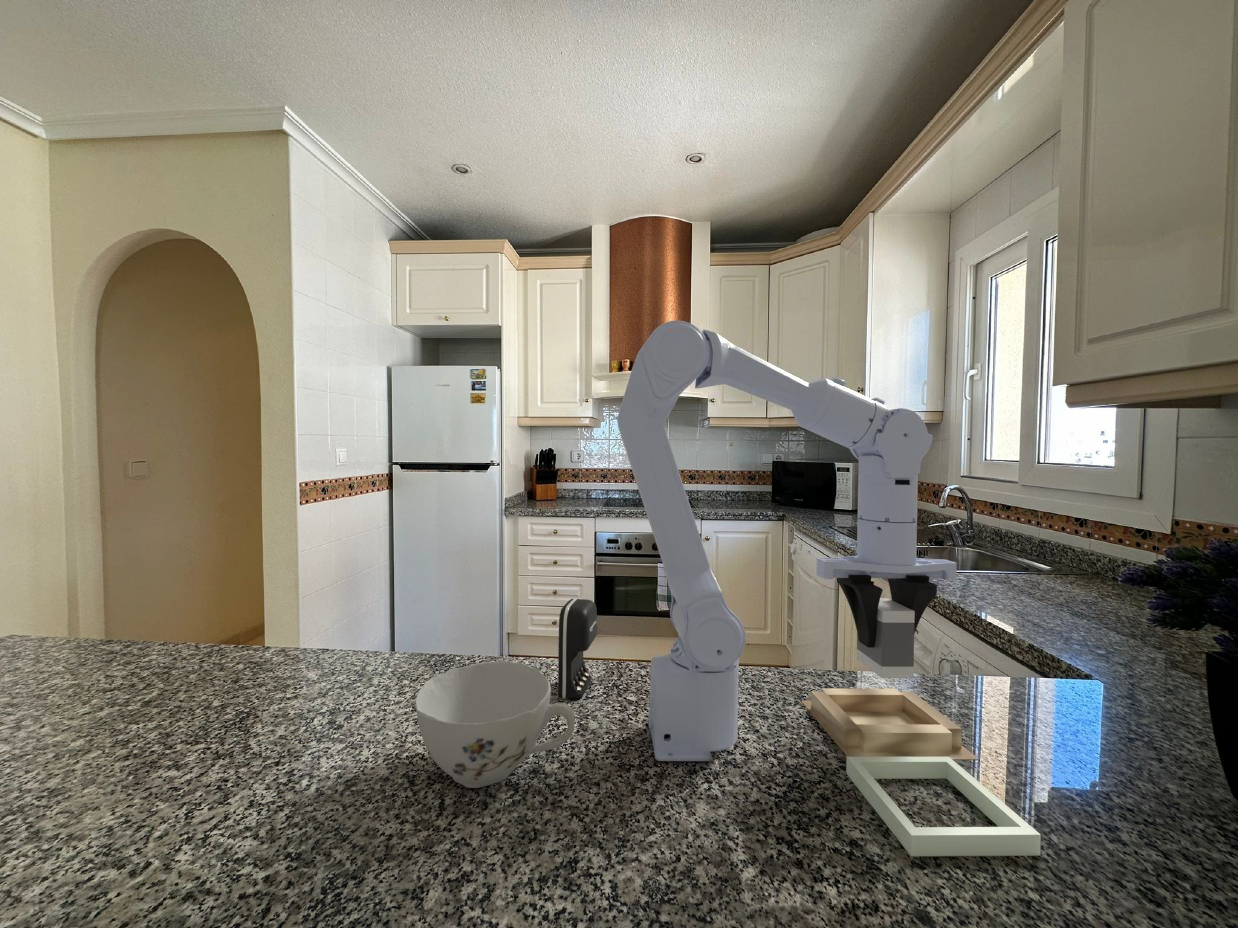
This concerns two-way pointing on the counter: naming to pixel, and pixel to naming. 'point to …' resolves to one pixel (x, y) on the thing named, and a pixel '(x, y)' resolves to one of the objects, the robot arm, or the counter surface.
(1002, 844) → the tray
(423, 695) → the teacup
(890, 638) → the grey rectangular block
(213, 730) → the counter surface
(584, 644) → the black battery charger
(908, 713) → the tray
